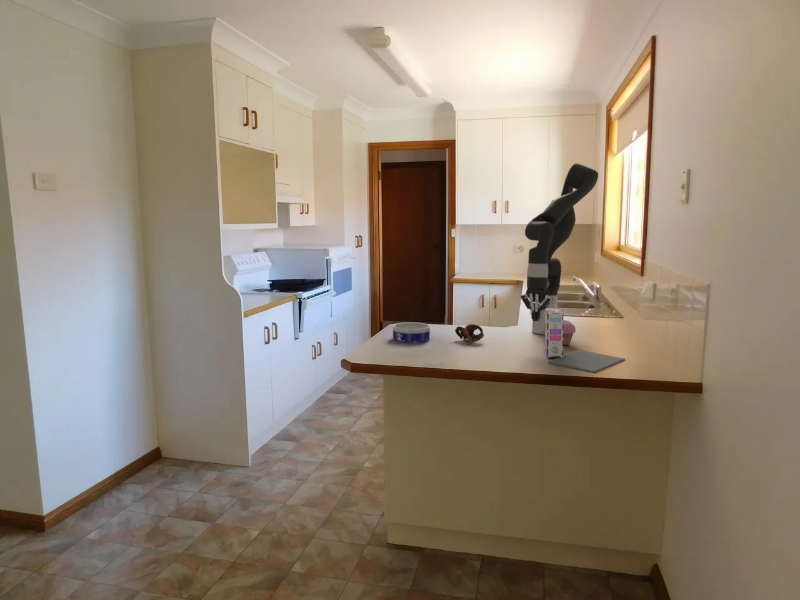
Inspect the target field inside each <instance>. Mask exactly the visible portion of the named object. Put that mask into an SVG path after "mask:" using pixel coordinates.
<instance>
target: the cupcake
mask: <svg viewBox="0 0 800 600" xmlns="http://www.w3.org/2000/svg"><path fill="white" fill-rule="evenodd" d="M576 331H577V330H576V326H575V324H573V323H572V322H571V321H570V320H565V319H563V346H564V345H566V346H569V345H570V344H571V341H572V339H573V336H574V334H575V333H576Z"/></svg>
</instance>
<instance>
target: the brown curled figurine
mask: <svg viewBox="0 0 800 600" xmlns="http://www.w3.org/2000/svg"><path fill="white" fill-rule="evenodd" d="M477 330H479V332H480V333H478V334H475V333H474V332H475V331H477ZM454 332H455V334H456V335H457V336H458V337H459V339H460V340H462V339H463V341H465V340H466V344H467V345H471V343H475V342H479V341H481V340H482V339H483V338H484V337H485V335H484V330H483V328H482V326H479V325H478V324H473V323H469V324H467V325H466V326H465V327H463V326H457V327H456V328H455V329H454Z"/></svg>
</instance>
